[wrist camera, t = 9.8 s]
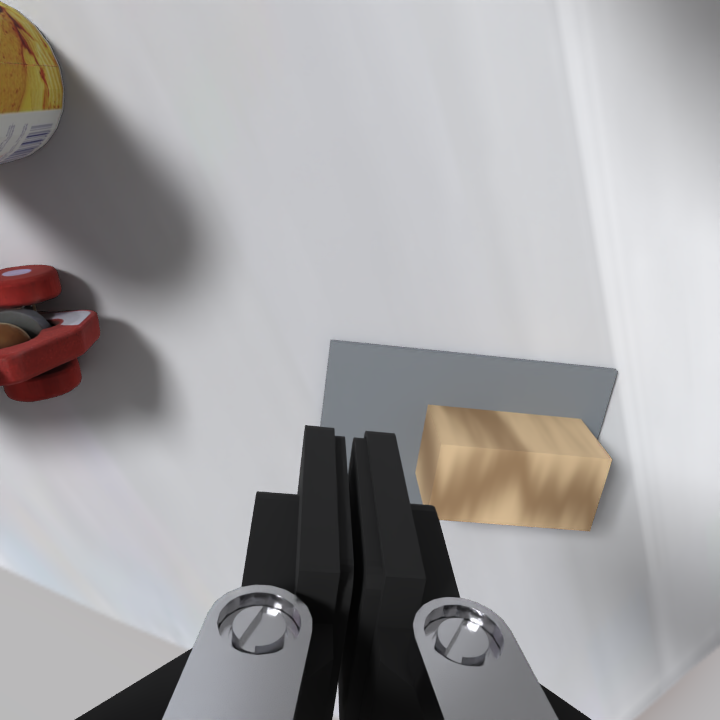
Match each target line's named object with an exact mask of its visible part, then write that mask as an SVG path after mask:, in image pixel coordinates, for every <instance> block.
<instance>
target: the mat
mask: <svg viewBox="0 0 720 720" xmlns="http://www.w3.org/2000/svg"><path fill="white" fill-rule="evenodd" d="M617 372H618V371H617V370H616V369H613V368H604V367H594V366H584V365H574V364H564V363H554V362H545V361H535V360H525V359H515V358H505V357H496V356H486V355H476V354H466V353H456V352H446V351H437V350H427V349H417V348H407V347H397V346H388V345H378V344H368V343H358V342H348V341H338V340H331V341H330V350H329V358H328V366H327V375H326V383H325V391H324V400H323V408H322V416H321V425H320V427H330V428H334V429H335V436H345V441H346V455H347V470H349V463H350V456H351V449H352V442H353V438H354V437H356V438H364V434H365V431H375V432H386V433H395V435H396V439H397V444H398V449H399V453H400V458H401V463H402V467H403V472H404V477H405V482H406V486H407V491H408V496H409V500H410V503H411V504H423V503H422V499H421V494H420V490H419V486H418V482H417V478H416V474H415V471H416V466H417V461H418V455H419V450H420V445H421V439H422V434H423V428H424V423H425V418H426V412H427V407H428V405H439V406H449V407H460V408H471V409H481V410H492V411H503V412H513V413H524V414H535V415H545V416H556V417H567V418H578V419H581V420H582V421H583V422H584V424H585V425H586V426H587V427H588V429H589V430H590V431H591V433H592V434H593V435H594V436H595V438H596V439H598V435H599V432H600V429H601V425H602V422H603V419H604V415H605V412H606V409H607V405H608V402H609V399H610V395H611V392H612V389H613V385H614V382H615V379H616V375H617Z"/></svg>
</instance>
